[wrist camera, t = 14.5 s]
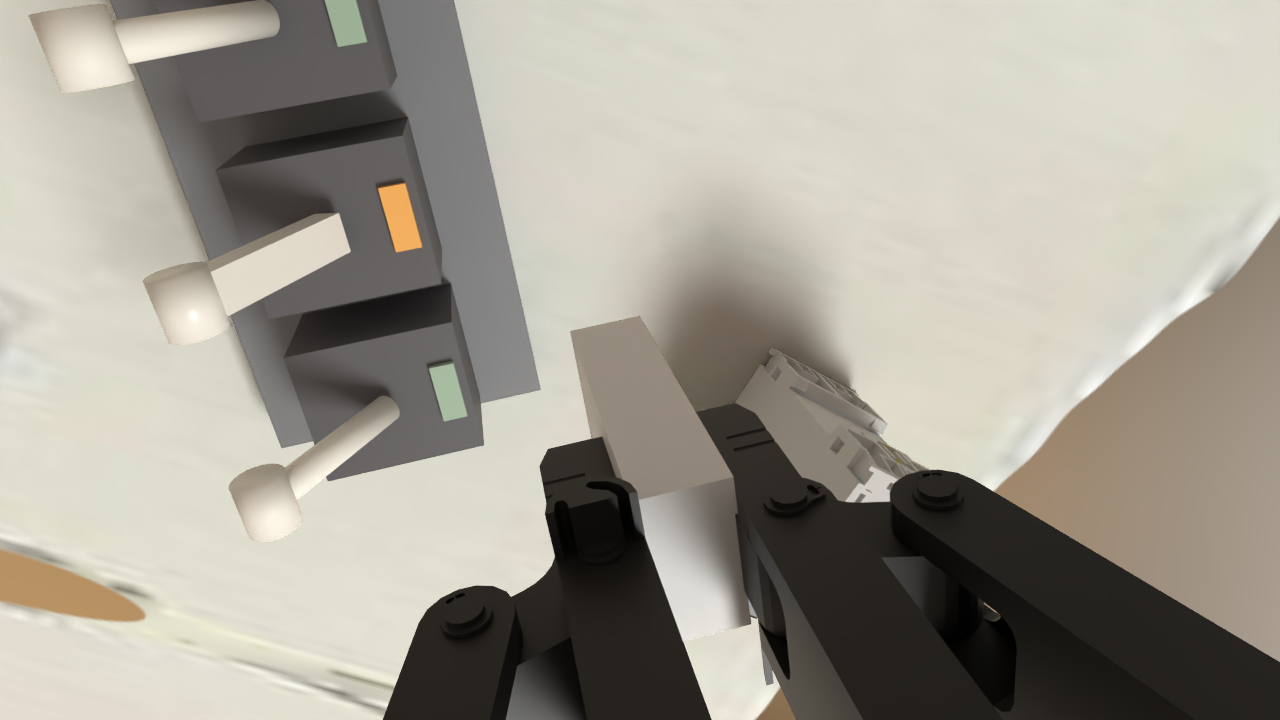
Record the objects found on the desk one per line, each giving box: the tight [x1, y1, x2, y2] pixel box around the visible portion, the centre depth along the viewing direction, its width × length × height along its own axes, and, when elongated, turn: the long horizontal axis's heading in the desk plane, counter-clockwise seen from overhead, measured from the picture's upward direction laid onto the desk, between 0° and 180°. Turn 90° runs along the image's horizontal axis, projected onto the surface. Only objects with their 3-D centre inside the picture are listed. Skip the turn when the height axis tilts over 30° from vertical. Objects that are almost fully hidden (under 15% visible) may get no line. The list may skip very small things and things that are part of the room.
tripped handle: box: [143, 213, 351, 345], centre depth 34 cm, size 2×2×9 cm
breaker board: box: [29, 0, 541, 543], centre depth 39 cm, size 15×26×17 cm, turn 8°
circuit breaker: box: [735, 347, 929, 619], centre depth 52 cm, size 8×14×15 cm, turn 148°
